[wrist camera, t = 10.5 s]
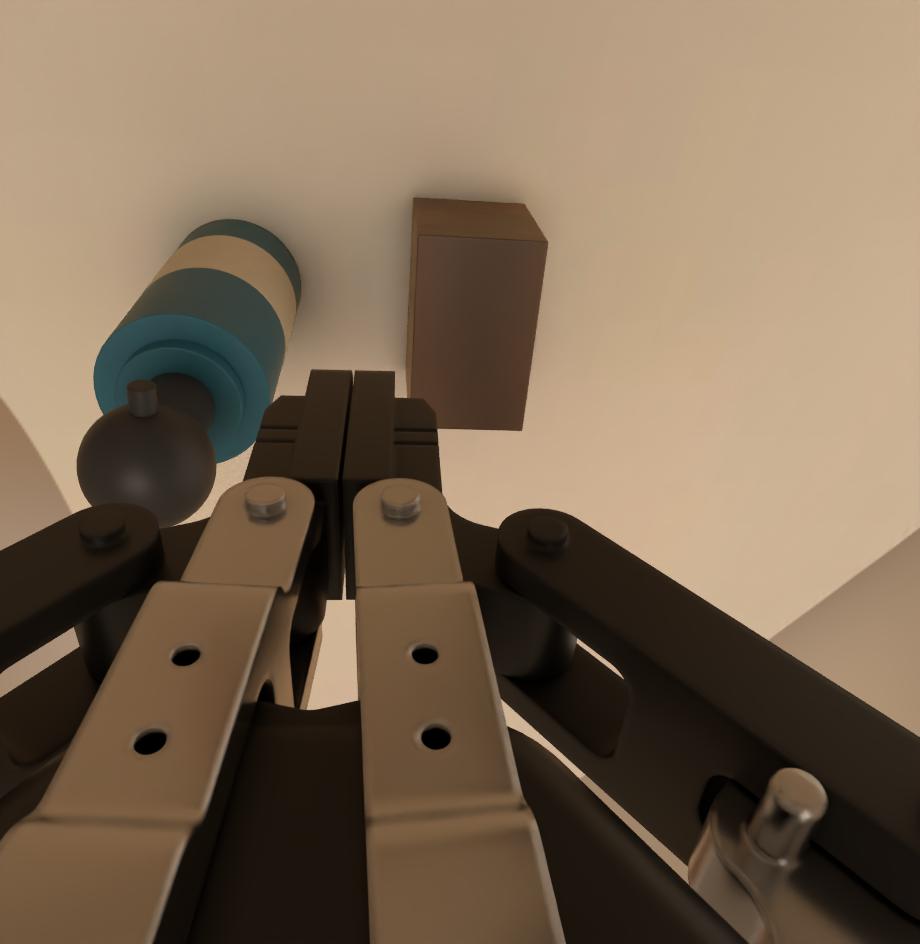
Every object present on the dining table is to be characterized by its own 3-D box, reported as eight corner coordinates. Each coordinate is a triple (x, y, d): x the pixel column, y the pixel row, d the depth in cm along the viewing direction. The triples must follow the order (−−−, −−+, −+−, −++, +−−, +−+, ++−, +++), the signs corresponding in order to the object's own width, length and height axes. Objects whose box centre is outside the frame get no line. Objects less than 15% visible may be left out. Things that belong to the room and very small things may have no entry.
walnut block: (405, 370, 45) (408, 428, 39) (412, 197, 40) (417, 234, 34) (504, 373, 46) (522, 431, 40) (525, 203, 41) (548, 241, 35)
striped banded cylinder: (237, 317, 46) (-109, 413, 32) (236, 202, 42) (-155, 255, 29) (462, 422, 39) (141, 603, 25) (483, 294, 35) (121, 424, 22)
